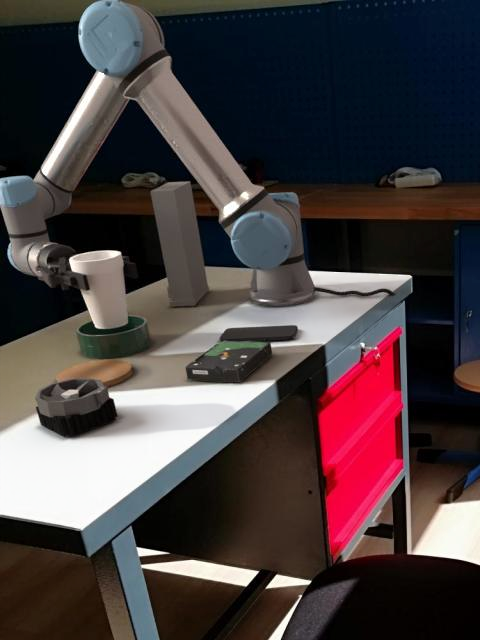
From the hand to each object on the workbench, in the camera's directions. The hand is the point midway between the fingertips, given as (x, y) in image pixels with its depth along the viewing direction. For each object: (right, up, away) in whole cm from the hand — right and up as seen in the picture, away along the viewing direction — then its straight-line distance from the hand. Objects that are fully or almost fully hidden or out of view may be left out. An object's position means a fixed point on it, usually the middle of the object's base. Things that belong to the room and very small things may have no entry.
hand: (111, 276), depth 142 cm
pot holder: (-1, -19, -4) cm, 20 cm away
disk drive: (+23, -18, -4) cm, 30 cm away
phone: (+26, -8, +12) cm, 29 cm away
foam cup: (-3, -7, +8) cm, 11 cm away
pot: (-3, -11, +10) cm, 15 cm away
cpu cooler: (+3, -30, -22) cm, 37 cm away
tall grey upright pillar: (+5, +7, +39) cm, 40 cm away
